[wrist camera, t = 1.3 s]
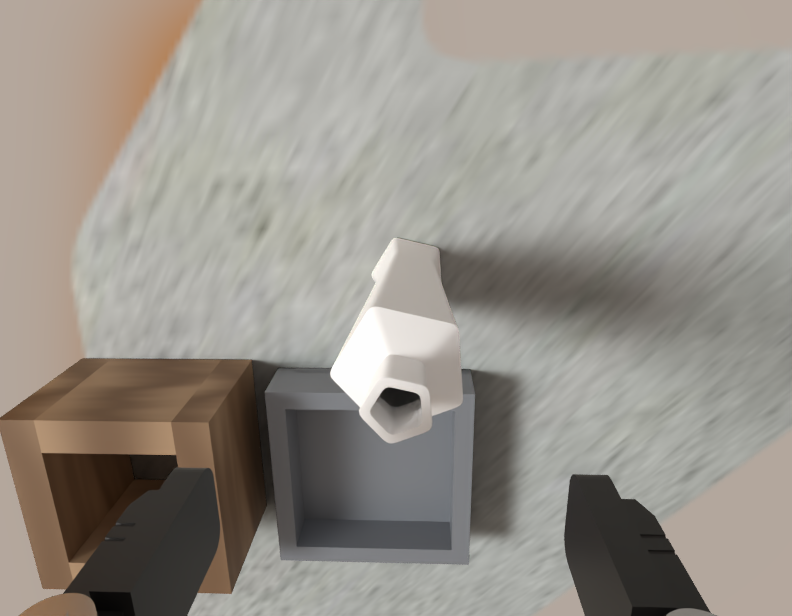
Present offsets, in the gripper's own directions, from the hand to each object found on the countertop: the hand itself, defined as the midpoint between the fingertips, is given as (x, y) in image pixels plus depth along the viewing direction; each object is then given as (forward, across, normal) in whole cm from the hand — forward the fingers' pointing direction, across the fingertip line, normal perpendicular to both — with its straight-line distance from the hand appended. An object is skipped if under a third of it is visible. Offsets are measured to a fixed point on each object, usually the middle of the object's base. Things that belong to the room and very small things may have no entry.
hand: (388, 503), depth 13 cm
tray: (+19, +2, +11) cm, 22 cm away
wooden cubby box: (+19, +14, +10) cm, 26 cm away
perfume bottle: (+19, 0, 0) cm, 19 cm away
